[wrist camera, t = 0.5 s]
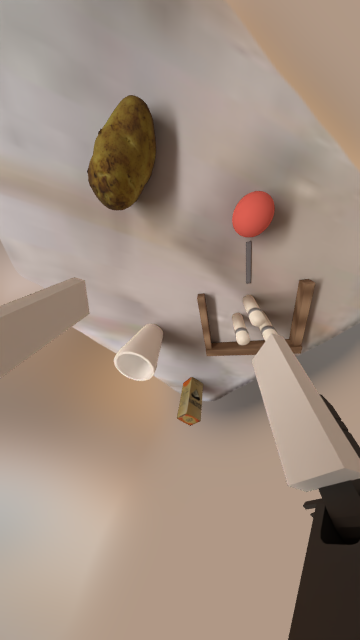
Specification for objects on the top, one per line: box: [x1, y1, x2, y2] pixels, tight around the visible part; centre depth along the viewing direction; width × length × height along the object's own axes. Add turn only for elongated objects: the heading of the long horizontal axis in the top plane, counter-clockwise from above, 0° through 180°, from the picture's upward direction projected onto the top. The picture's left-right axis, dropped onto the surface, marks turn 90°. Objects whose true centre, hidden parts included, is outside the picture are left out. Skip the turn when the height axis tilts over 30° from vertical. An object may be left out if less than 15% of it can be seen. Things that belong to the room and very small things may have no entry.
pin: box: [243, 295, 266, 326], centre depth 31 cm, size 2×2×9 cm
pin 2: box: [259, 311, 278, 342], centre depth 32 cm, size 2×2×9 cm
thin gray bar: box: [246, 241, 251, 283], centre depth 30 cm, size 8×1×1 cm, turn 13°
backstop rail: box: [197, 279, 315, 356], centre depth 36 cm, size 17×22×3 cm
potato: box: [87, 95, 156, 210], centre depth 23 cm, size 8×13×8 cm, turn 130°
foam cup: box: [114, 324, 163, 381], centre depth 39 cm, size 10×9×13 cm
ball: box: [232, 191, 275, 237], centre depth 24 cm, size 6×6×6 cm
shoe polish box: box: [177, 377, 203, 426], centre depth 49 cm, size 5×5×12 cm
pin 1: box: [232, 313, 250, 345], centre depth 33 cm, size 2×2×9 cm
